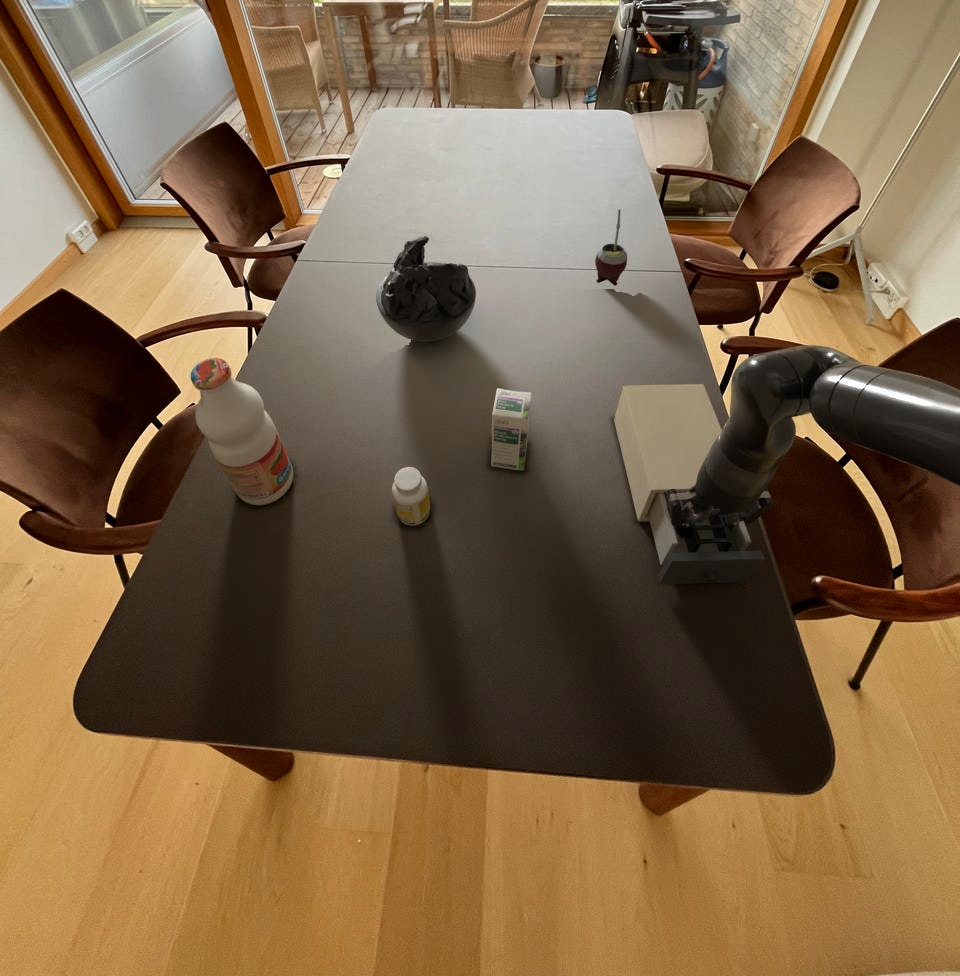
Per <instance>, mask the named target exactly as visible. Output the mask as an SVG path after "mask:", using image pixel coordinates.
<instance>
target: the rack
mask: <svg viewBox="0 0 960 976" xmlns="http://www.w3.org/2000/svg"><path fill="white" fill-rule="evenodd" d="M689 515H690V511H689ZM708 519H709V522H710V525H695V524H694V525H692V528H691V530H690V532H689V534H688V535H687V537H686V538H684V539H685V542H686V545H687V549H688V552H689V553H691V552H696V551H697V550H698V548H699V547H700V545H701V544H713V543H717V546H718V549H719V552H727V551H728V549H729V548H730V547H731V545H732V544H733V541H732V538H731V535H730V532H729V529H728V527H727V524H726V521H725V518H724V515H719V514H716V515H711V516H710V517H709V518H708ZM697 530H712V531H713V534H714V537H715V539H700V538H699V535H698V532H697Z"/></svg>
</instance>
